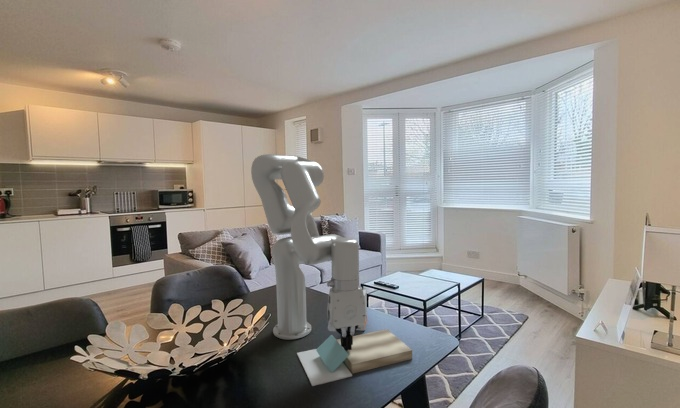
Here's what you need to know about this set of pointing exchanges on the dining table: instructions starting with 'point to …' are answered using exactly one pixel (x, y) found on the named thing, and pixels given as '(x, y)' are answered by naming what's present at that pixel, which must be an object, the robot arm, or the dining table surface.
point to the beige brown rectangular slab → (376, 351)
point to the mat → (321, 368)
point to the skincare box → (362, 328)
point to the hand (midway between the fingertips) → (346, 347)
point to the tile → (332, 353)
